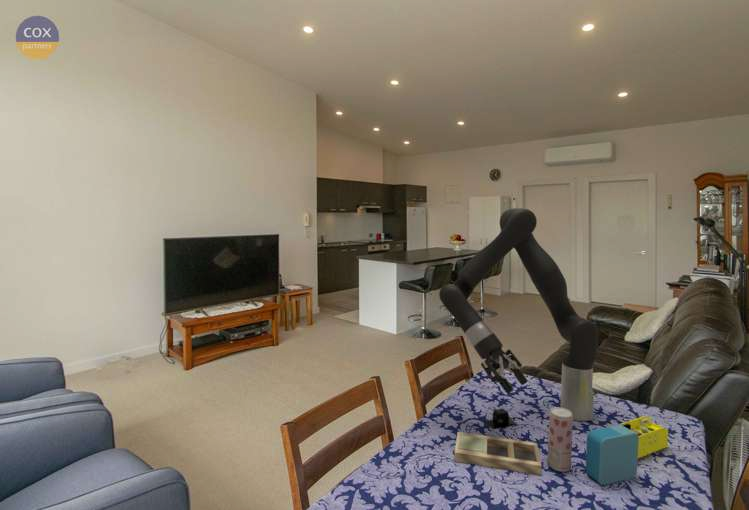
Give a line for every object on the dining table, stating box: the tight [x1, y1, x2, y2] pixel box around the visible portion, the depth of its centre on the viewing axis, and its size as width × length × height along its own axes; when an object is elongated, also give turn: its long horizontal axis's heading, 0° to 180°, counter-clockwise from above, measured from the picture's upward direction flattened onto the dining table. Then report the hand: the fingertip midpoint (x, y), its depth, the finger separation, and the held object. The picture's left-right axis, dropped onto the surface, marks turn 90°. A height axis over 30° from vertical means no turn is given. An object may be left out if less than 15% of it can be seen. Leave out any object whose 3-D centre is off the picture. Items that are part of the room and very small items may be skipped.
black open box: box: [483, 408, 519, 430], centre depth 127 cm, size 12×7×5 cm, turn 106°
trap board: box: [453, 431, 543, 476], centre depth 109 cm, size 22×11×3 cm, turn 74°
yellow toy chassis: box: [619, 415, 669, 459], centre depth 111 cm, size 16×6×8 cm, turn 115°
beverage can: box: [547, 406, 574, 473], centre depth 104 cm, size 6×6×15 cm
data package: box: [585, 424, 639, 486], centre depth 100 cm, size 12×4×12 cm, turn 106°
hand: (518, 387), depth 112 cm, fingers open, 8 cm apart
